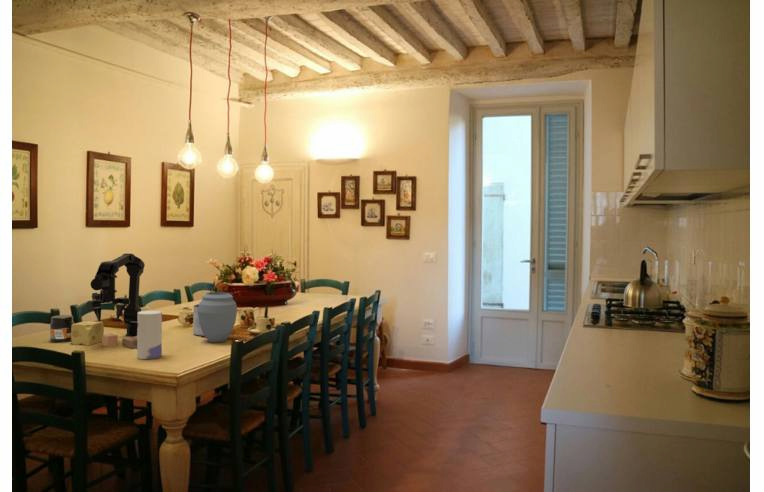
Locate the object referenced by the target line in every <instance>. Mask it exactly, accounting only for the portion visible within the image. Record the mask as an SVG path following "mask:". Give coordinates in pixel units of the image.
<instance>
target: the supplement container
mask: <svg viewBox="0 0 764 492" xmlns="http://www.w3.org/2000/svg"><path fill="white" fill-rule="evenodd" d="M72 324H75V322H74V316H73V315H71V314H64V315H63V314H59V315H54V316H53V315H52V316H51V317H50V324H49V327H50V328H49V331H50V332H49V336H50V338H49V339H50V340H49V341H51V342H52V343H68V342H72V341H71V326H72Z"/></svg>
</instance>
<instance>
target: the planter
mask: <svg viewBox="0 0 764 492" xmlns="http://www.w3.org/2000/svg"><path fill="white" fill-rule="evenodd" d="M198 306H199V303H198V304H195V305H193V316H192V317H193V318H192V319H193V321H192V323H193V325H192V333H193V334H194V335H195V336H197V337H205V335H204V334H203V332H202V329H201V326H200V323H199V318H198V311H197V310H198Z"/></svg>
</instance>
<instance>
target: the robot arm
mask: <svg viewBox="0 0 764 492" xmlns="http://www.w3.org/2000/svg"><path fill="white" fill-rule="evenodd" d="M123 266H124V267H125V268H126V272H127V274H128V277H129V283H128V284H129V286H128V297H124V296H123V297H117V298H116V293H117V292H118V291H117V289H116V279H117V278H118V276H117V273H118V272H119V271H120V268H122V267H123ZM144 268H145V262H144V261H143V260H142V259H141V258H140V257H138V256H136V255H135V254H133V253H122V254H121V255H120V256H117V257H116V258H114V259H113V260H106V261H102V262H101V263H100V264H99V265H98V268H97V271H96V273H95V276H94V278H93V279H92V280H91V281H90V287H91V289H92V290H94V291H99V292H100V293H98V292H93V293H92V294H91V299H92V300H87V302H86V308H89V309H91V310H93V313H94V314H95V317H96V319H97V322H101V318H102V317H101V316H102V307H101V306H105V305H113V304H114V305H115V308H116V320H119V319H120V317H121V315H122V313H123V315H122V318H123V322H124V325H127V326H126V334H125V335H126V336H128V337H135V336H137V315H138V312H141V311H142V308H141V306H140V305H139V299H140V282H141V281H140V280H141V279H140V278H141V276H142V274H143V273H144V270H145V269H144Z"/></svg>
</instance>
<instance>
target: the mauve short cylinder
mask: <svg viewBox="0 0 764 492" xmlns="http://www.w3.org/2000/svg"><path fill="white" fill-rule="evenodd" d="M122 346H123V348H127V349H130V350H133V349H137V336H128V337H123V338H121V347H122Z"/></svg>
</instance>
